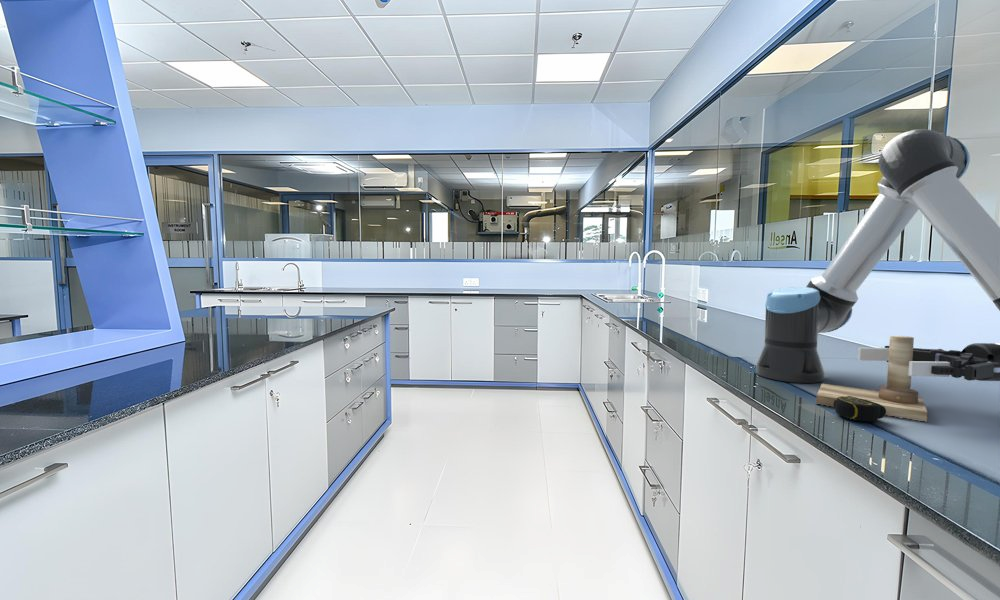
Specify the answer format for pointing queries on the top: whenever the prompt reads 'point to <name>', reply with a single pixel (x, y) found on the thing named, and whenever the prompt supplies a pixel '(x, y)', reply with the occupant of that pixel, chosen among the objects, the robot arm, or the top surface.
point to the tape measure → (858, 409)
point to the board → (909, 411)
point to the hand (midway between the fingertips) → (882, 360)
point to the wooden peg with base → (899, 372)
